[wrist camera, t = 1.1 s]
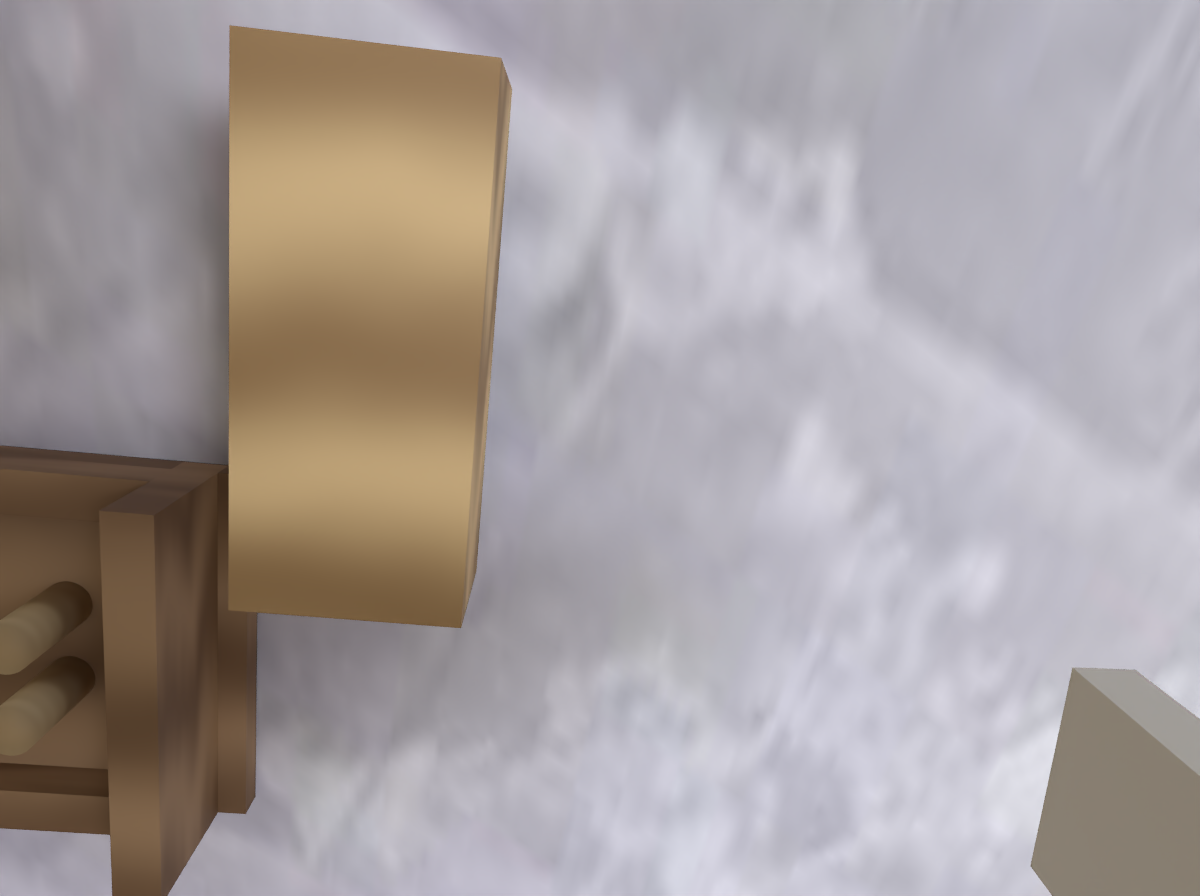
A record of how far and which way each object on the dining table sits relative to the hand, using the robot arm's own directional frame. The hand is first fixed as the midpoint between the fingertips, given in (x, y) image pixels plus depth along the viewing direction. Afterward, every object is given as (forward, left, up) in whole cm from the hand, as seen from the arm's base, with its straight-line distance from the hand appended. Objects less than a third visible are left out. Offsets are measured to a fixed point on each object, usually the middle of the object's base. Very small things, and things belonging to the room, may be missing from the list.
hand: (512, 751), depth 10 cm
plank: (-3, -5, -16) cm, 17 cm away
